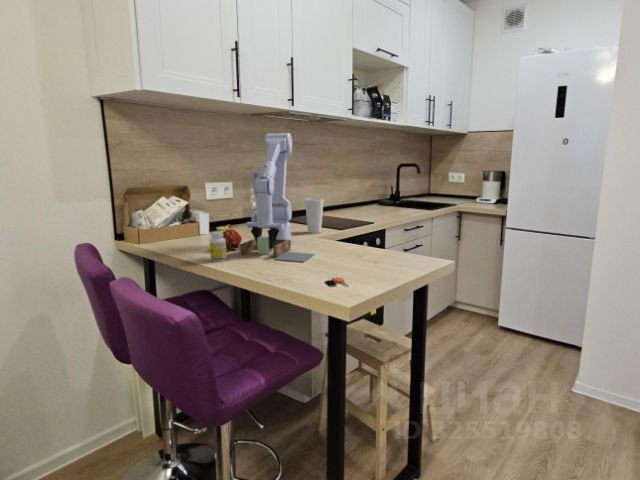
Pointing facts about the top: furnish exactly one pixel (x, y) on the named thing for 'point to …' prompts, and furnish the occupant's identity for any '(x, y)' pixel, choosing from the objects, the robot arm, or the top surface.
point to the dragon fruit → (232, 239)
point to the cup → (314, 214)
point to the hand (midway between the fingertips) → (265, 247)
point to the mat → (294, 257)
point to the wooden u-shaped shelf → (278, 249)
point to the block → (264, 245)
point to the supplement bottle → (218, 247)
